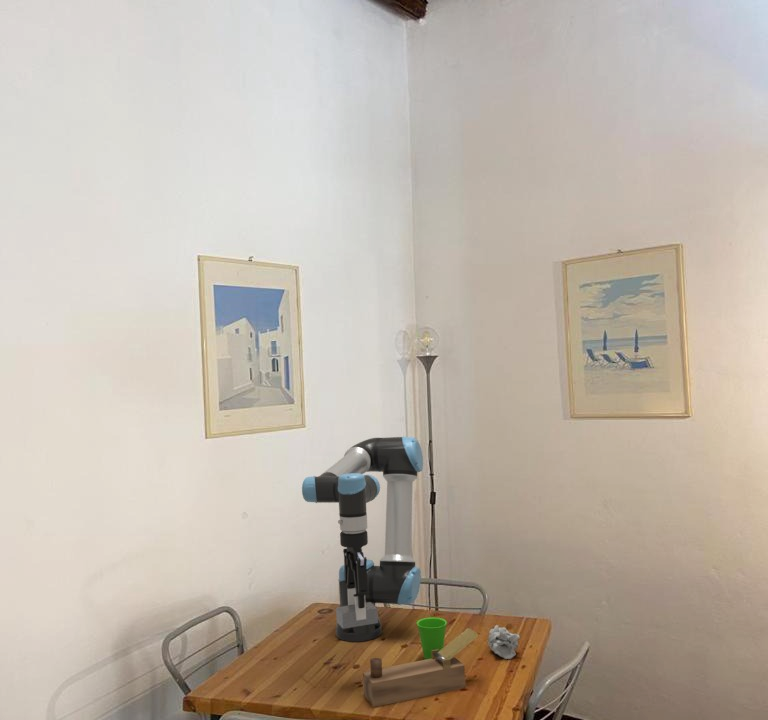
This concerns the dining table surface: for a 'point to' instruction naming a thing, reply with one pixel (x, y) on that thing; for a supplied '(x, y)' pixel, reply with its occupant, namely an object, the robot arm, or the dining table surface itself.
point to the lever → (456, 645)
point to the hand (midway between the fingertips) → (357, 615)
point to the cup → (431, 634)
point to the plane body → (411, 679)
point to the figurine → (503, 642)
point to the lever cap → (348, 616)
